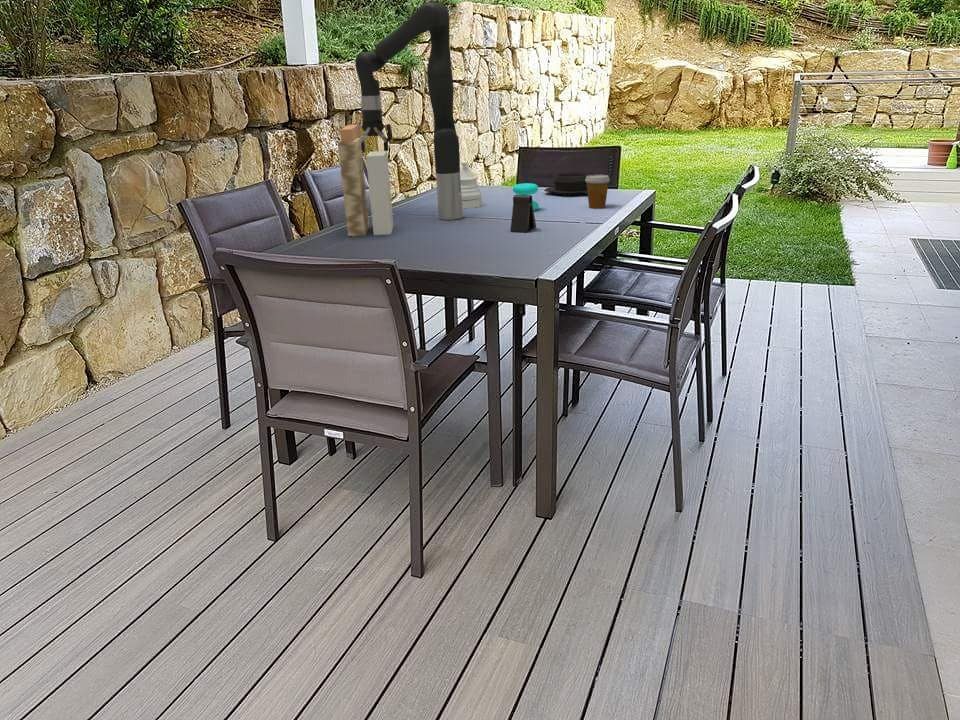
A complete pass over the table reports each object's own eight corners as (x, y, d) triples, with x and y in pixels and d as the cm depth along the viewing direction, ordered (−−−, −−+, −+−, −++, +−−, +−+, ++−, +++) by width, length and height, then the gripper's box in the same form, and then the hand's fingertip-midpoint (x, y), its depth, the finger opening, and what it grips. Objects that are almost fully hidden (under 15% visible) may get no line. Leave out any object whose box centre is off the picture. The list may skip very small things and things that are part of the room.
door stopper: (526, 233, 254) (525, 197, 250) (510, 232, 257) (509, 197, 253) (536, 227, 262) (535, 193, 258) (520, 227, 264) (519, 192, 260)
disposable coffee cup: (608, 204, 298) (609, 174, 294) (610, 209, 289) (610, 177, 285) (584, 205, 299) (584, 175, 295) (585, 209, 290) (585, 178, 286)
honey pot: (481, 208, 304) (479, 163, 297) (450, 209, 304) (447, 164, 298) (482, 203, 316) (480, 159, 309) (452, 204, 316) (449, 160, 310)
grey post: (393, 225, 278) (386, 150, 268) (390, 234, 263) (383, 155, 253) (377, 226, 277) (370, 151, 268) (373, 235, 263) (366, 156, 253)
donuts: (540, 182, 295) (535, 186, 286) (540, 208, 298) (536, 212, 289) (515, 182, 297) (510, 186, 288) (516, 208, 301) (511, 212, 292)
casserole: (605, 191, 331) (605, 171, 328) (594, 198, 315) (594, 177, 312) (551, 190, 340) (551, 171, 337) (538, 196, 325) (537, 177, 322)
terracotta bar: (360, 135, 274) (358, 124, 273) (352, 141, 252) (351, 129, 250) (349, 136, 274) (347, 125, 272) (341, 142, 252) (339, 129, 250)
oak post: (369, 226, 277) (360, 137, 266) (365, 235, 262) (355, 141, 251) (353, 227, 277) (343, 138, 266) (348, 236, 262) (337, 142, 251)
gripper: (392, 107, 286) (394, 151, 292) (356, 108, 288) (359, 151, 294) (387, 108, 279) (390, 153, 285) (350, 109, 281) (354, 153, 287)
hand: (374, 152), depth 289 cm, fingers open, 8 cm apart
